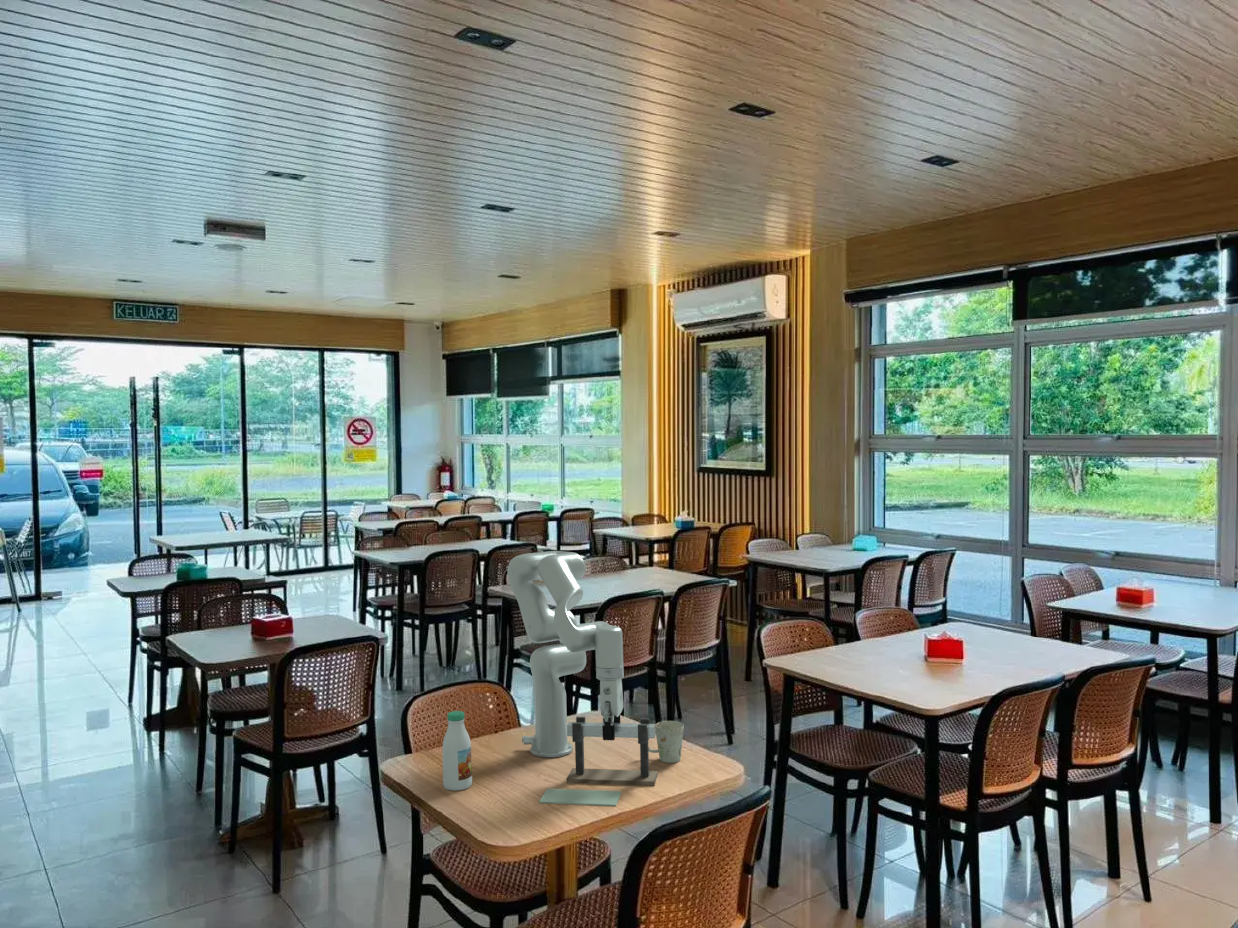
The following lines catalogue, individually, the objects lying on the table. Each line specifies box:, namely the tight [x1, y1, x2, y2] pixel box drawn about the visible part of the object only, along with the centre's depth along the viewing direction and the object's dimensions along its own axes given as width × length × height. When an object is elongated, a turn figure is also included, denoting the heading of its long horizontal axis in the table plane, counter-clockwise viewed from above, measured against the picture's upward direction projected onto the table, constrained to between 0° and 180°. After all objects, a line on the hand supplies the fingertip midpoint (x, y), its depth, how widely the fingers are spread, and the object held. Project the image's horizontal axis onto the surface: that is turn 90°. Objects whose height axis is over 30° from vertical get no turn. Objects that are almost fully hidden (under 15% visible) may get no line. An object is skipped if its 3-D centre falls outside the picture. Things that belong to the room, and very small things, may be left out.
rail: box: [567, 721, 656, 739], centre depth 250 cm, size 24×3×3 cm, turn 81°
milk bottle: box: [442, 710, 473, 792], centre depth 248 cm, size 8×8×20 cm
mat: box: [538, 788, 623, 807], centre depth 238 cm, size 20×9×1 cm, turn 81°
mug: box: [648, 720, 685, 764], centre depth 266 cm, size 8×13×10 cm, turn 79°
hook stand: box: [565, 716, 659, 787], centre depth 251 cm, size 24×8×16 cm, turn 81°
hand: (611, 734), depth 250 cm, fingers open, 9 cm apart
